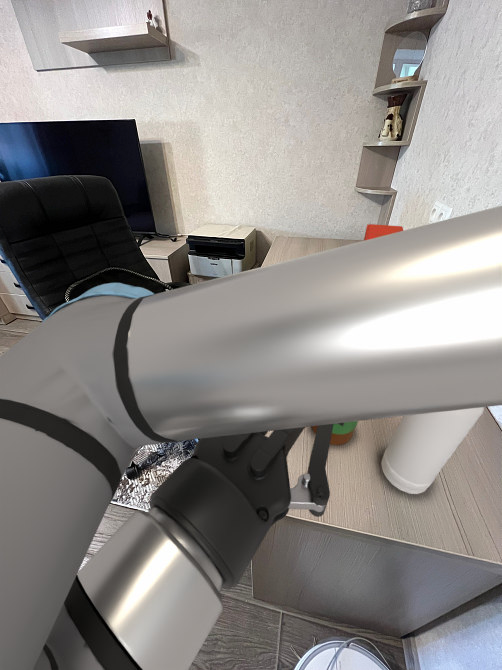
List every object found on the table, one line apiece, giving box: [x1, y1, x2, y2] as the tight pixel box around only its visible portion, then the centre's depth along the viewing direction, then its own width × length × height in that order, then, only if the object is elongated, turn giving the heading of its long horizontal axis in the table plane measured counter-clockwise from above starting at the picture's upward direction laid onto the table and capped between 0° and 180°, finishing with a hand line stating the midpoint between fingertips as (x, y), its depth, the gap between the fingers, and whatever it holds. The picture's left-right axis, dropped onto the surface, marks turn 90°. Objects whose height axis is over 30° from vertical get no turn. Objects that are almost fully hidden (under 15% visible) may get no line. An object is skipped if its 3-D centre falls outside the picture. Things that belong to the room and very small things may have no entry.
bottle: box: [380, 407, 485, 495], centre depth 41 cm, size 8×8×30 cm
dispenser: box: [311, 421, 359, 446], centre depth 51 cm, size 10×9×22 cm
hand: (330, 353), depth 33 cm, fingers closed
